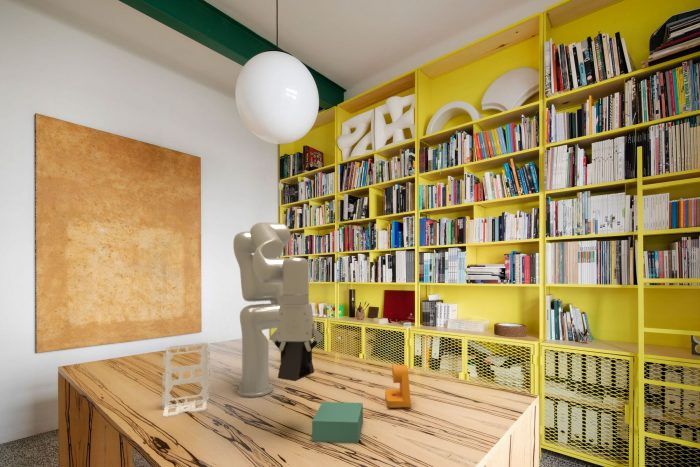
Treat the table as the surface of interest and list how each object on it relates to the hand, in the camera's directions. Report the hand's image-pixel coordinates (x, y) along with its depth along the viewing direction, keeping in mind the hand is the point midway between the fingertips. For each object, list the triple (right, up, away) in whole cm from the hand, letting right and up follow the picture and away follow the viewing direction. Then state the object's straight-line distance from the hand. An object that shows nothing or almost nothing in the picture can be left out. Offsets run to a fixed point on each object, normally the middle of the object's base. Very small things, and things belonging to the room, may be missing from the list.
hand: (296, 364), depth 99 cm
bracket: (+31, -19, +15) cm, 39 cm away
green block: (+12, -17, -3) cm, 21 cm away
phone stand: (0, -3, 0) cm, 3 cm away
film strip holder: (-39, -21, +17) cm, 48 cm away
